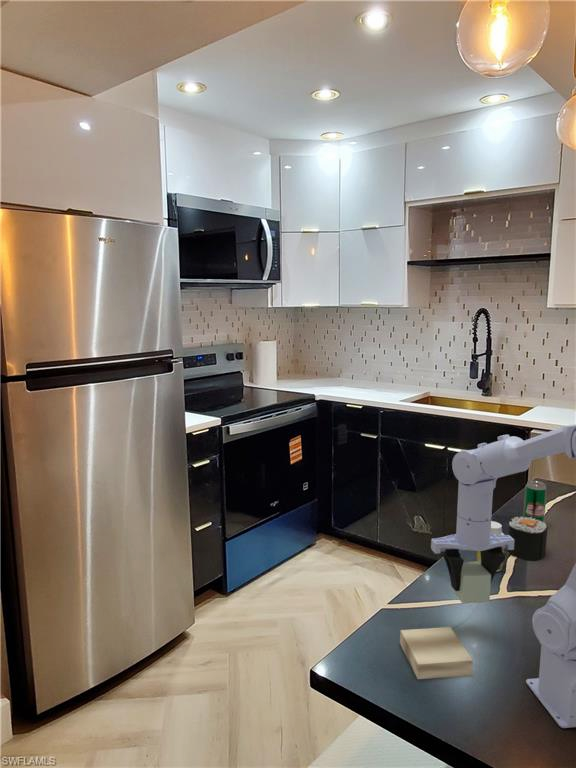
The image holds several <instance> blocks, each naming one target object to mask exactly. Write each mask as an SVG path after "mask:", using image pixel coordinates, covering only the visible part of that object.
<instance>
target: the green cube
mask: <svg viewBox="0 0 576 768" xmlns="http://www.w3.org/2000/svg"><path fill="white" fill-rule="evenodd" d="M491 585H492V582H491V574H490V573H489V572H488V571H487V570H486V569H485V568H484V567H483V566H482V565H481V564H480V563H479V562H478V561H477V560H476V561H464V563H463V566H462V570H461V577H460V589H459V591H455V590H454V589H453V587H452V586H451V585H450V590H452V592H453V593H454V594H455V596H456V597H457V598H458V600H459V601H460V602H461V603H462V604H470V603H487V602H488V603H489V602H490V600H491V598H490V597H491V587H492V586H491Z"/></svg>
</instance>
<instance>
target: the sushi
mask: <svg viewBox="0 0 576 768" xmlns="http://www.w3.org/2000/svg"><path fill="white" fill-rule="evenodd" d="M508 525H509V527H508V535H509V536H511V537H512V538H513V539H514V550H508V549H507V553H508V552H509V553H508V554H509V555H510V556H512V557H514V558H517V559H520V560H523V561H524V560H525V561H529V562H530V561H531V562H538V561H541V560H542V559H544V558H545V556H546V551H547V550H546V549H547V540H548V527H547V524H546V523H545V521H544V522H543V523H542V521H538V520H535V518H533V519H532V517H530V518H526V517H525V518H523V516H519V517H518V516H516V517H515V516H514V517H513V518H511V521H509V523H508Z"/></svg>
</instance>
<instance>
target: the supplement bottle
mask: <svg viewBox="0 0 576 768" xmlns="http://www.w3.org/2000/svg"><path fill="white" fill-rule="evenodd" d="M502 527H503V526H502V524H501V523H500V522H497V521H493V520H491V533H490V534H495V535H505V533H503V528H502ZM476 552H477V553H476V562H477V561H478V562H479V563H480V564H481V553H480V551H476ZM502 552H503V553H504V554H505V548H502ZM503 567H504V562H503V563H502V564H501V565H500V566H499V568H498V569H497V571H496V573H497V572H500V571H502V570H503Z"/></svg>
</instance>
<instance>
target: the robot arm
mask: <svg viewBox="0 0 576 768" xmlns="http://www.w3.org/2000/svg"><path fill="white" fill-rule="evenodd" d="M558 454H566V456H567V457H568V458H569V459H571V460H573V459H576V423H575V424H569V425H565V426H561V427H559V428H556V429H552V430H550V431H548V432H544V433H541V434H539V435H537V436H534V437H531V438H527V439H525V440H523V438H521V437H518V436H514V435H513V436H510V434H503V435H499V436H497V441H493V442H490V443H487V442H482V443H478V444H477V448H474V449H473V448H472V449H468V450H467V449H462V450H460V451H458V452H457V453H456V454H455V455H454V456H453V458H452V461H451V466H452V467H451V468H452V471H453V475H454V477H455V478H456V480H458V487H457V488H458V489H457V491H458V492H457V510H456V531H455V532H456V533H455V534H454V533H453V534H449V535H446V536H441V537H437V538H431V541H430V549H431V550H432V552H433V553H434V554H435V555H436V554H441V555H442V556H443V559H444V561H445V564H446V567H447V570H448V574H449V579H450V580H449V581H450V587H451V586H452V587H453V589H454V590H455V591H459V589H460V577H461V570H462V566H463V563H464V562H465V560H464V559H463V557H462V556H461V553H460V551H462V552H463V551H473V552H477V551H480V553H481V565H482V566H483V567H484V568H485V569H486V570H487V571H488V572H489V573H490V574H491V583H493V580H494V577H495V575H496V574H497V572H496V571H497V569H498V568H499V566H500V565H501V564H502V563H503V564H504V561H506V553H505V552H504V553H503V552H502V548H504V549H507V551H508V550H514V539H513V538H512V537H511V536H509V534H507V535H506V534H504V535H495V534H490V533H491V521H492V515H493V514H492V510H493V496H494V495H493V494H494V490H495V488H496V486H497V480H498V479H500V478H502V477H506V476H510V475H515V474H518V473H519V474H520V473H523V472H526V471H528V469H529V468H530V467H531V465H532V462H533V460H537V459H542V458H546V457H550V456H554V455H558ZM531 623H532V630H533V632H534V634H535V636H536V638H537V640H538V641H539V644H540V645H541V648H540V660H539V669H538V670H539V672H538V673H539V674H538V677H537V678H527V679H526V681H525V683H526V684H527V686H528V688H530V690H531V691H532V692H533V694H534V695H535V696H536V698H537V699H538V700H539V701H540V702H541V704H542V705H543V707H544V708H545V709H546V710H547V711H548V713H549V714H550V716H551V717H552V718H553V720H554V721H555V722H556V724H557V725H558V726H559V727H560V728H562V729H567V728H576V562H575V563H574V565H573V567H572V570H571V572H570V573H569V576H568V577H567V579H566V582H565V584H564V585H563V586H562V587H560V588H558V590H557V591H556V592H555V593H554V594H552V595H551V596H550V597H549V598H548V600H547V602H546V603H545V605H544V606H542V607H540V608H537V609H536V610H535V611H534V613H533V615H532V620H531Z"/></svg>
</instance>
